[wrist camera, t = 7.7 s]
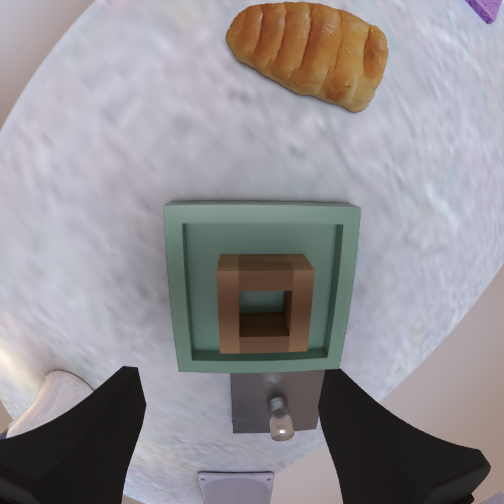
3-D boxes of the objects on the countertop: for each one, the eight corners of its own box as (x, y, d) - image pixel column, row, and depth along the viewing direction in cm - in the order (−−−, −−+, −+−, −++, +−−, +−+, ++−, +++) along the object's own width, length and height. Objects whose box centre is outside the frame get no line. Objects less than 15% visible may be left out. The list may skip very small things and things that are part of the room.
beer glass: (118, 420, 23) (72, 553, 9) (66, 420, 23) (13, 529, 9) (81, 362, 21) (-2, 500, 7) (30, 367, 21) (-49, 474, 7)
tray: (331, 352, 22) (339, 367, 20) (182, 355, 21) (178, 371, 19) (349, 203, 19) (360, 207, 17) (171, 201, 18) (163, 205, 16)
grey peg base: (313, 419, 24) (323, 456, 19) (233, 423, 23) (233, 462, 19) (324, 358, 22) (340, 395, 17) (230, 361, 21) (229, 402, 17)
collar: (298, 326, 20) (307, 351, 17) (222, 327, 20) (220, 353, 17) (303, 253, 18) (314, 270, 16) (220, 254, 18) (216, 271, 15)
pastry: (216, 82, 16) (211, 62, 13) (241, -2, 15) (241, -32, 11) (362, 119, 17) (389, 110, 14) (375, 35, 16) (400, 15, 12)
